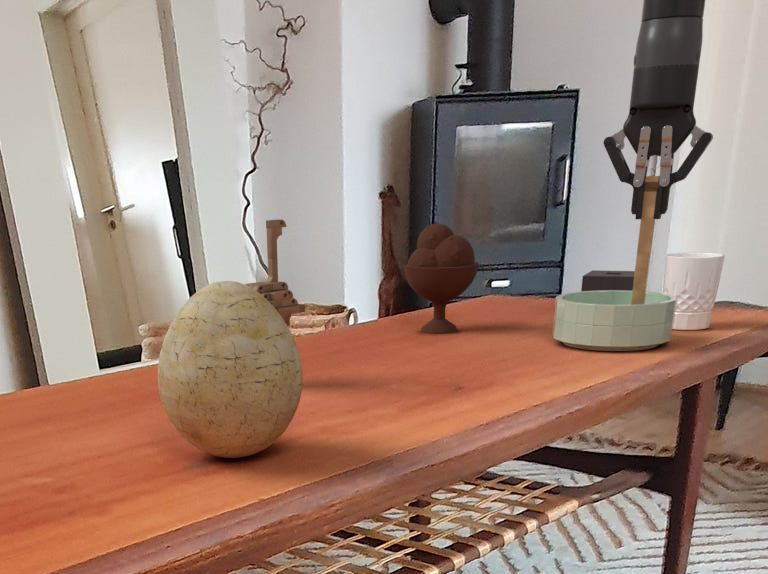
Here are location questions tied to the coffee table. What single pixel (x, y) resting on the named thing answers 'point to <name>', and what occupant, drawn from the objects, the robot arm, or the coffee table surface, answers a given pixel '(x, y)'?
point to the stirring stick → (645, 240)
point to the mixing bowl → (613, 320)
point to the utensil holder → (608, 280)
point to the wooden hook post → (276, 277)
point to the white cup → (693, 287)
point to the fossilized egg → (229, 371)
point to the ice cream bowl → (440, 271)
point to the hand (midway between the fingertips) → (647, 218)
